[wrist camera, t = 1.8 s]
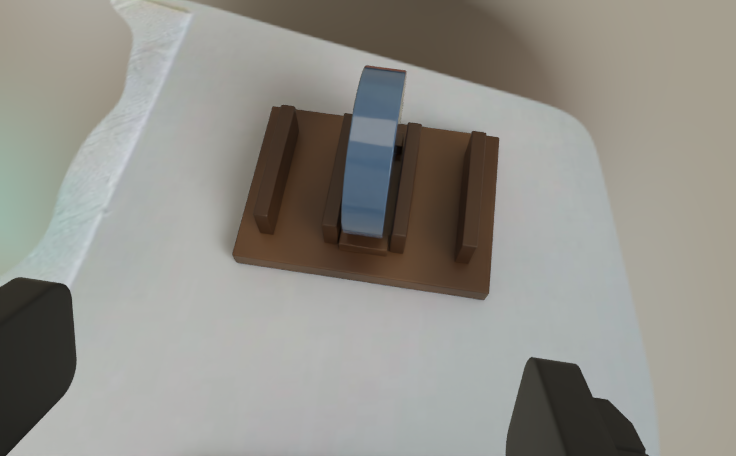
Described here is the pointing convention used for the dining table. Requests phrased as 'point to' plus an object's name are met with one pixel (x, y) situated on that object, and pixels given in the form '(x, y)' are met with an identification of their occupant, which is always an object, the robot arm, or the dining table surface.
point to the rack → (404, 217)
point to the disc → (372, 151)
